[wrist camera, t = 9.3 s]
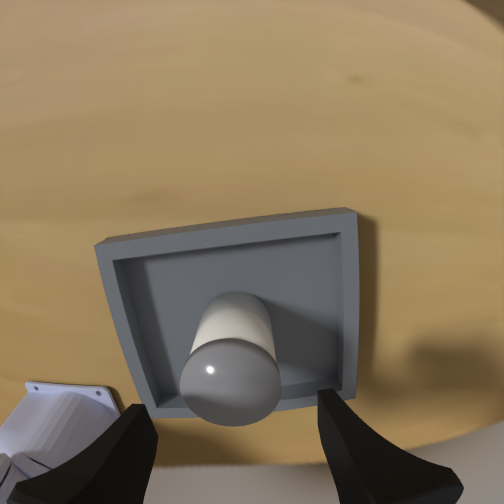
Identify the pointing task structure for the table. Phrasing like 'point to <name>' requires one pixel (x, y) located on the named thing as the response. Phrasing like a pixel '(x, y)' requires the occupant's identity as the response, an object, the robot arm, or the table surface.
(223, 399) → the shaker
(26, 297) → the table surface
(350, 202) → the table surface
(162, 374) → the tray
